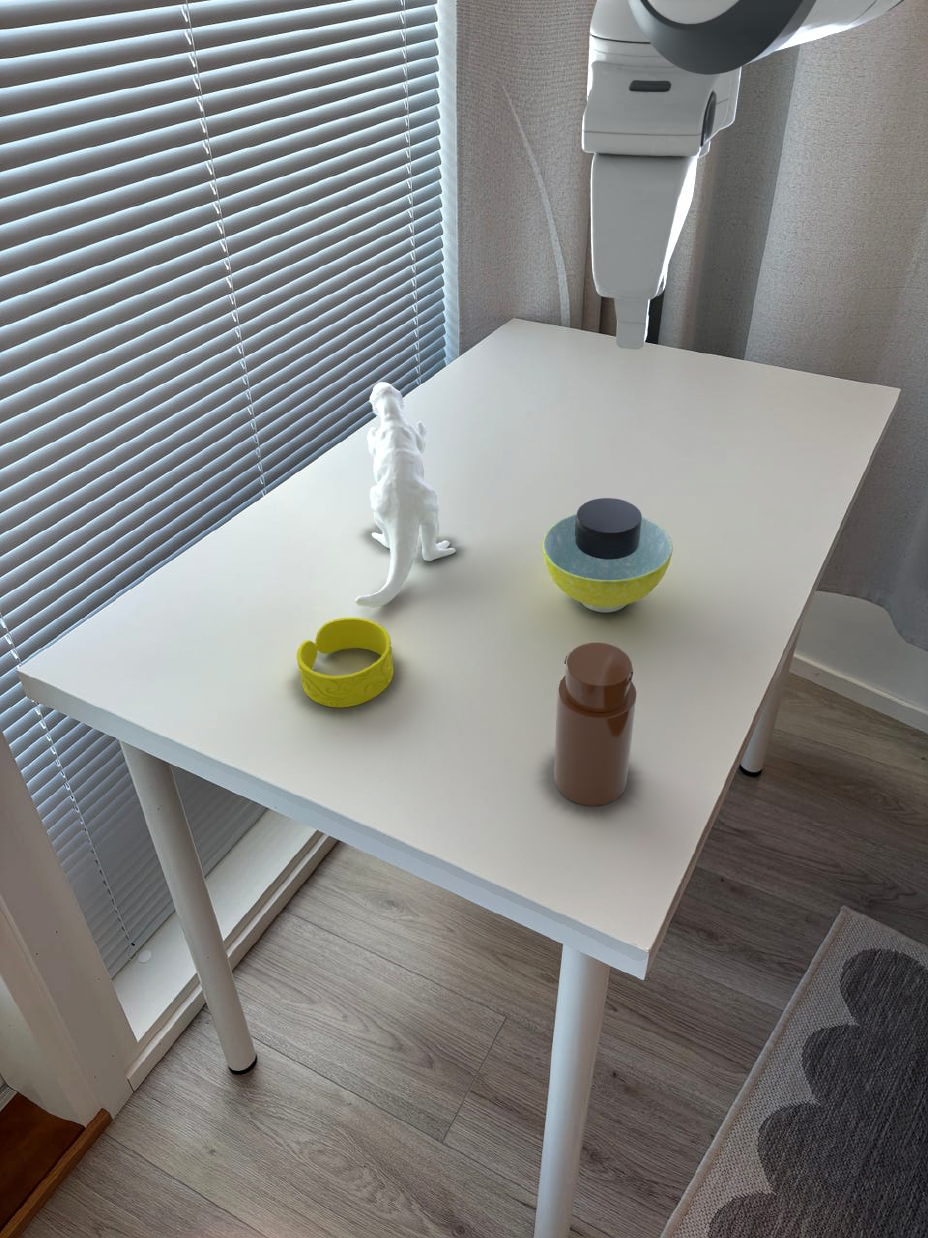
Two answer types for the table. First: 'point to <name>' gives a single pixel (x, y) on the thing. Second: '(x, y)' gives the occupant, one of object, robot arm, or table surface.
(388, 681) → the bracelet
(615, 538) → the lid
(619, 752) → the jar
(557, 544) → the bowl
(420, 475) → the dinosaur figurine
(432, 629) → the table surface
